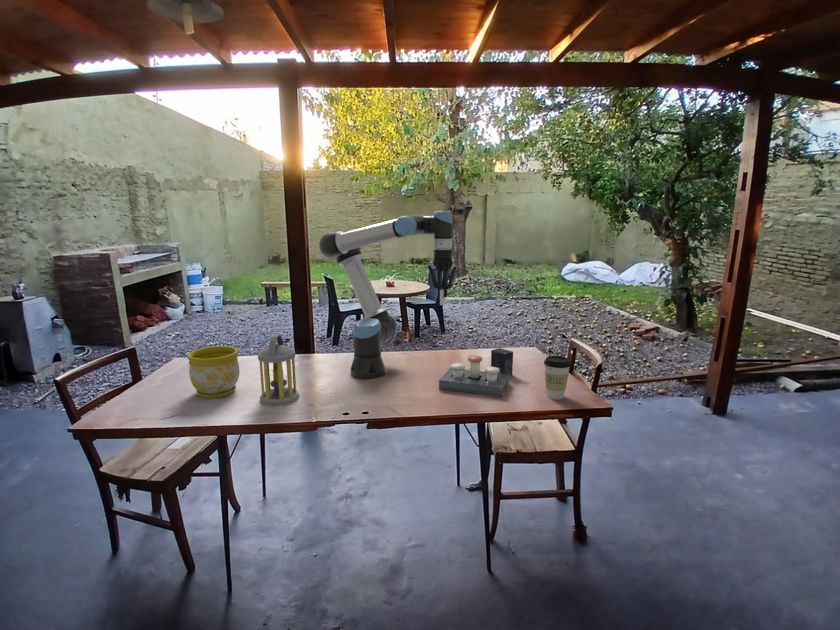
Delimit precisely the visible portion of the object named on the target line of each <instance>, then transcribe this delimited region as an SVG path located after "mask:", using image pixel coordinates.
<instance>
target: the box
mask: <svg viewBox="0 0 840 630" xmlns="http://www.w3.org/2000/svg"><path fill="white" fill-rule="evenodd" d="M490 352H491V353H490V354H491V355H490V356H491V357H490V367H497V368H499V373H501V374H509V377H510V376H513V370H514V369H513V367H514V366H513V365H514V364H513V363H514V351H512V350H508V349H504V348H501V347H499V348H494V349H491V351H490Z"/></svg>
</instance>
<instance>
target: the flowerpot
mask: <svg viewBox="0 0 840 630" xmlns="http://www.w3.org/2000/svg"><path fill="white" fill-rule="evenodd" d="M238 354H239V349H238V348H236V347H235V346H231V345H229V346H228V345H215V346H214V345H213V346H207V347H201V348H198V349H197V348H196V349H195V350H191V351H190V352H188V354H187V356H186V357H187V360H188V364H189V368H188V369H189V370H188V372H189V379H190V382H191V384H192V386H193V387H194V388H195V389H196V394H197V395H199V396H200V397H201V398H204V399H217V398H223V397H227V396H229V395H231V394H233V392H234V391H235V390H236V388H237V385H236V384H237V383H238V380H239V378H240V363H239V359H238V357H239V356H238Z"/></svg>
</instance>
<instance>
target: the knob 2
mask: <svg viewBox="0 0 840 630" xmlns="http://www.w3.org/2000/svg"><path fill="white" fill-rule="evenodd" d="M484 372H486V373H487V381H493V382H497V373H499V368H497V367H491V366H487V367H485V369H484Z"/></svg>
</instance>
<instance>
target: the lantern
mask: <svg viewBox="0 0 840 630" xmlns="http://www.w3.org/2000/svg"><path fill="white" fill-rule="evenodd" d="M295 357H296V351H295V350H294V349H293V348H292V347H291V346H288V345H285V344H284V339H283V337H282V335H281V334H279V333H278V334H275V333H274V334H272V335H271V337H270V339H269V345H268V346H266V347H264V348H262V349H261V350H260V351H259V352H258V354H257V359H258V361H259V371H260V373H259V374H260V385H261V395H260V396H259V402H260V404H263V405H264V406H268V407H270V406H271V407H279V406H280V407H281V406H285V405H290V404H292V403H294V402H296V401H298V400H299V398H300V393H299V390H297V380H296V379H297V378H296V364H295V363H296V362H295ZM284 362H285V363H286V375H287V376H286V378H287V380H286V379H284V371H283V370H284V369H283V363H284ZM291 363H292V364H291ZM269 364H272V366H273V367H272V368H273V369H272V376H273V380H271V376H270V365H269ZM285 386H287V387H285ZM271 387H272V388H271Z"/></svg>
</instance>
